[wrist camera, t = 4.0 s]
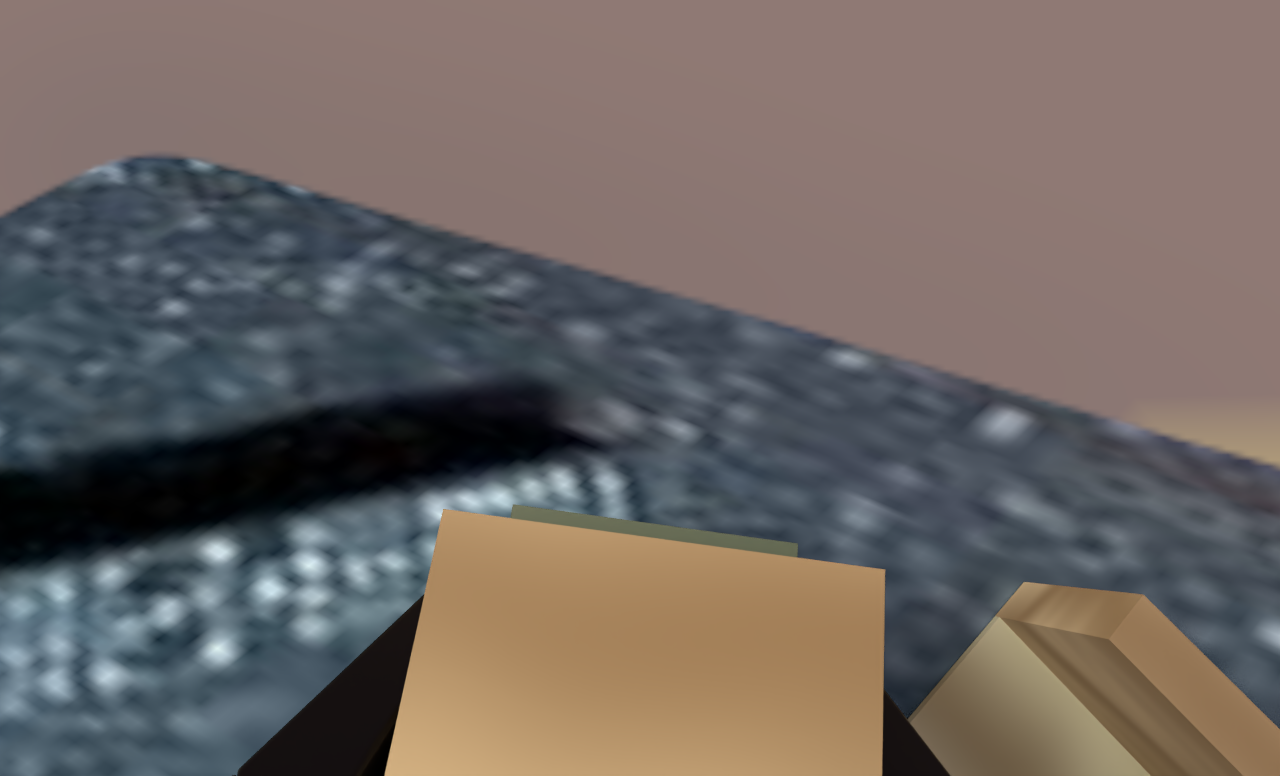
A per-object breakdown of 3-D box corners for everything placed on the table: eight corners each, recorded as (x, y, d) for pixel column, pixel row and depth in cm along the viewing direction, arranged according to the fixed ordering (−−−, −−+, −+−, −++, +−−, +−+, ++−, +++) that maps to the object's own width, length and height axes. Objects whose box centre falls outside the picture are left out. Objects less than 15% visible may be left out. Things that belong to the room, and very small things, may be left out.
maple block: (696, 745, 15) (876, 1152, 5) (506, 721, 14) (314, 1092, 5) (715, 542, 16) (885, 552, 6) (542, 518, 16) (447, 490, 6)
